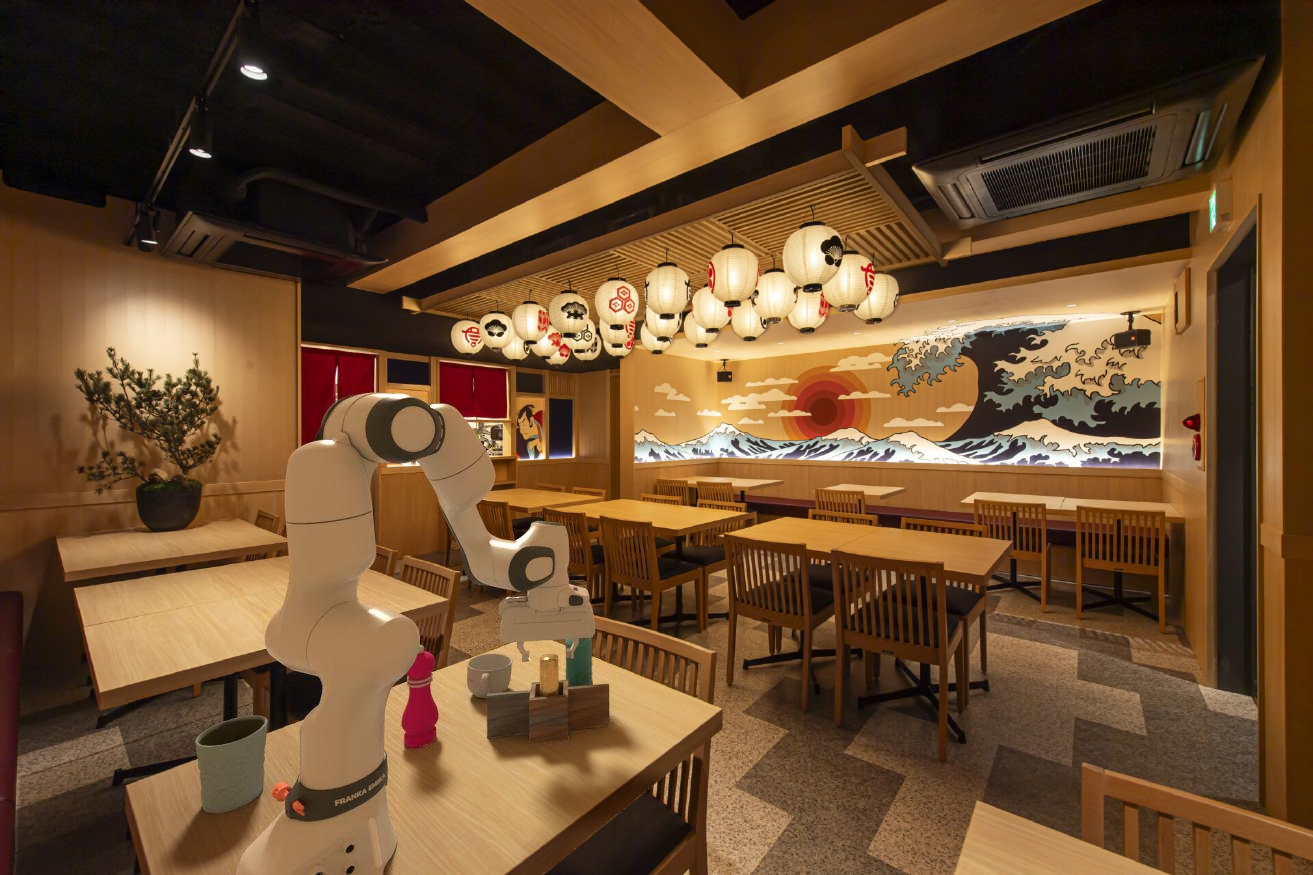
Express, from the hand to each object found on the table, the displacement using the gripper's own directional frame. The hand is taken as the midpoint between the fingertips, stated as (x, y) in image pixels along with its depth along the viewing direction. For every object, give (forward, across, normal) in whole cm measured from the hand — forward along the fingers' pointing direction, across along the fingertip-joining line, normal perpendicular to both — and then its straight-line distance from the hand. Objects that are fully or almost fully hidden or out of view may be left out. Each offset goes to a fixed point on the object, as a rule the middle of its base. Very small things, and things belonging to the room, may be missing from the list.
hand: (548, 659), depth 114 cm
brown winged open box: (+16, 0, 0) cm, 16 cm away
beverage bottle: (+16, +7, +10) cm, 20 cm away
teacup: (+16, -15, +19) cm, 29 cm away
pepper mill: (+16, -26, +2) cm, 31 cm away
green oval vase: (+17, -55, -11) cm, 58 cm away
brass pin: (+16, 0, 0) cm, 16 cm away
